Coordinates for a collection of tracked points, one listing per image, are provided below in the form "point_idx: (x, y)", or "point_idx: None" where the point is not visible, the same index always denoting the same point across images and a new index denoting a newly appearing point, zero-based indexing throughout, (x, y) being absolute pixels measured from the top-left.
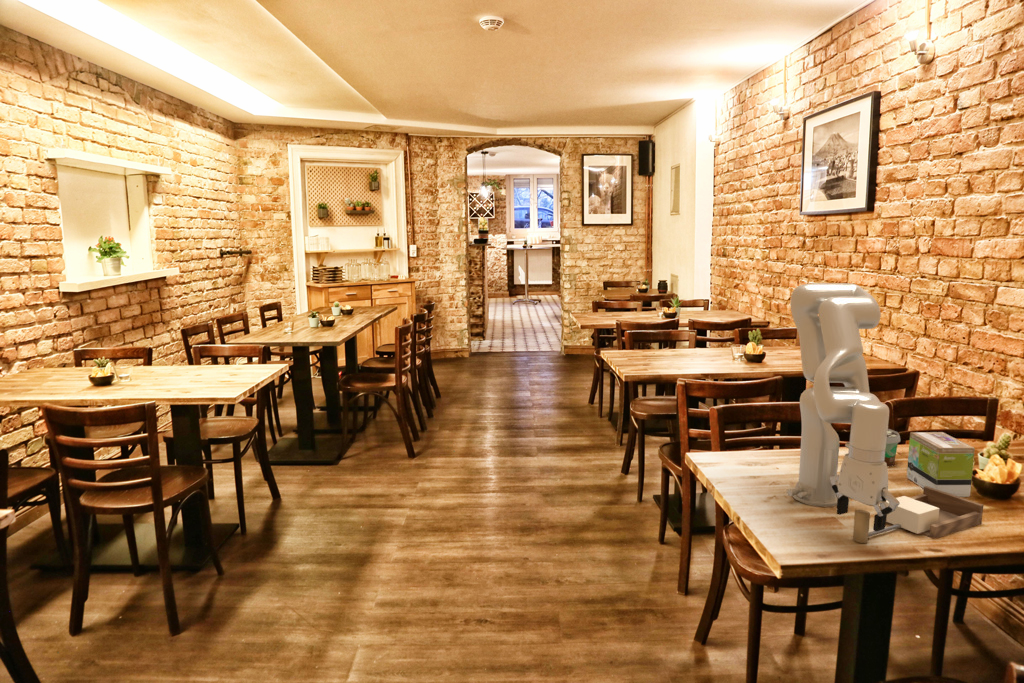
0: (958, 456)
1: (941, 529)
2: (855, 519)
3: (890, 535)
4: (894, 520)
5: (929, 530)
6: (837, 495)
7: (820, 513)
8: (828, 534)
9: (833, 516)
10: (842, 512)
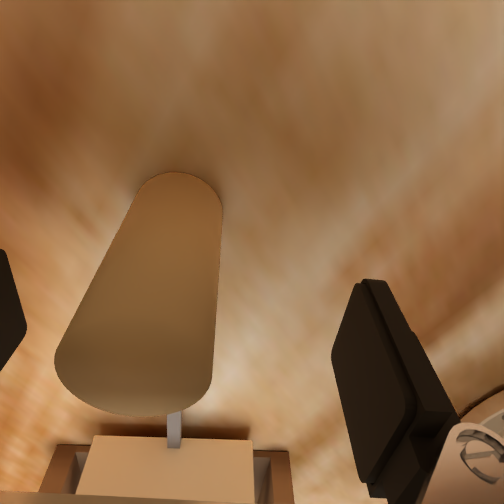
0: None
1: None
2: (175, 267)
3: None
4: (197, 458)
5: None
6: (489, 464)
7: (493, 335)
8: (360, 134)
9: (428, 351)
10: (350, 319)
